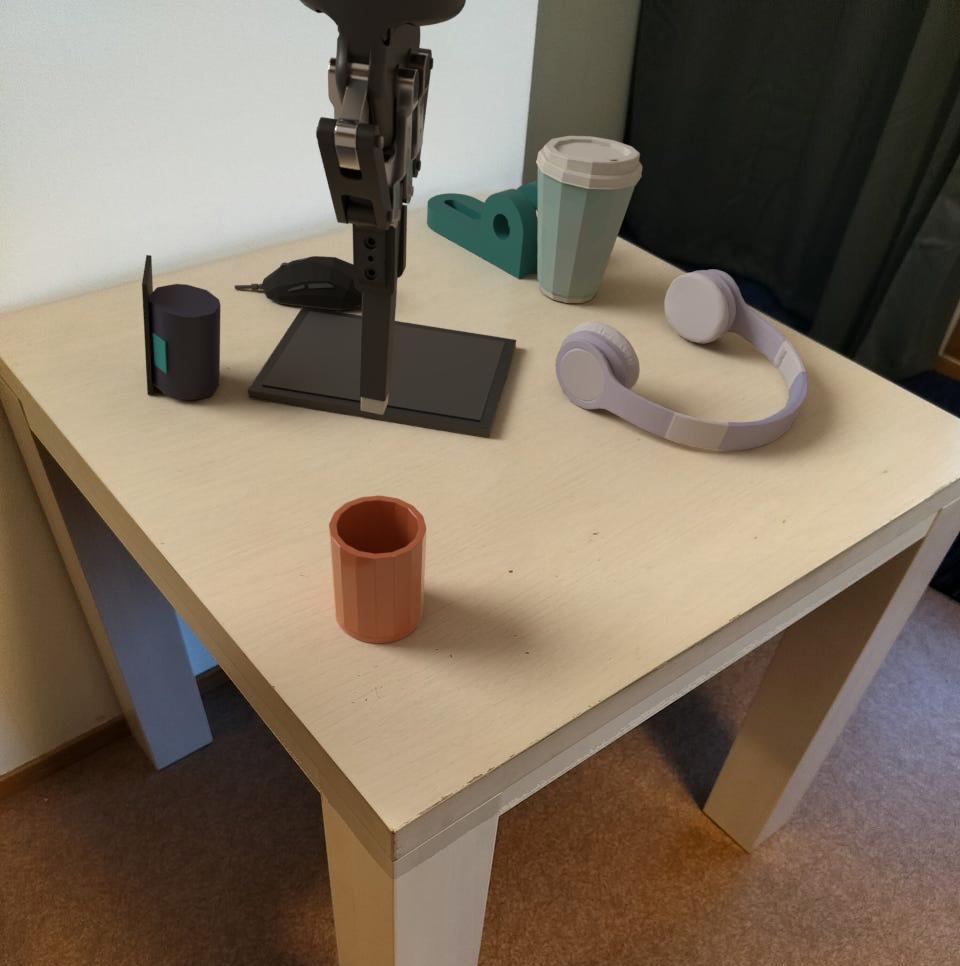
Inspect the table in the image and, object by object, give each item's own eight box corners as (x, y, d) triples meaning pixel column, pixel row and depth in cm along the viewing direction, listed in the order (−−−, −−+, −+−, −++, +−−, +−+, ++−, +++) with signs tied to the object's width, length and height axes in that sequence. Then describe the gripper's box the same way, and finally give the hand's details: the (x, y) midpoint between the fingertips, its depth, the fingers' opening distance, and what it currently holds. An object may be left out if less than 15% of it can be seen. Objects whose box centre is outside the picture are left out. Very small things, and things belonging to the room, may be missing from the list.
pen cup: (324, 634, 62) (317, 548, 56) (348, 575, 66) (344, 488, 60) (411, 650, 62) (413, 565, 56) (430, 589, 66) (434, 504, 60)
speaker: (124, 393, 79) (110, 280, 72) (152, 363, 83) (142, 252, 76) (207, 414, 79) (202, 303, 72) (231, 383, 83) (228, 275, 76)
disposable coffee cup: (505, 275, 100) (519, 128, 89) (588, 262, 104) (611, 120, 93) (549, 320, 94) (570, 169, 83) (636, 305, 98) (667, 159, 87)
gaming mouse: (241, 275, 96) (236, 237, 93) (379, 286, 96) (379, 249, 93) (228, 303, 92) (223, 265, 89) (373, 315, 92) (372, 277, 89)
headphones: (539, 385, 85) (710, 496, 77) (553, 317, 80) (738, 430, 72) (675, 313, 97) (834, 403, 89) (694, 250, 91) (866, 340, 84)
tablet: (248, 398, 81) (247, 388, 80) (303, 314, 91) (302, 304, 91) (488, 438, 79) (489, 428, 78) (515, 347, 90) (516, 338, 89)
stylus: (358, 411, 54) (365, 188, 44) (364, 397, 55) (372, 176, 45) (384, 416, 54) (396, 194, 44) (390, 402, 55) (403, 182, 45)
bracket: (560, 263, 103) (570, 192, 97) (518, 278, 100) (526, 206, 94) (457, 207, 112) (460, 139, 106) (415, 220, 108) (416, 150, 102)
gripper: (334, -166, 41) (345, 221, 53) (230, -123, 31) (273, 333, 44) (497, -145, 40) (468, 240, 53) (440, -94, 31) (422, 357, 44)
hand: (380, 281), depth 49 cm, fingers closed on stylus, 1 cm apart
